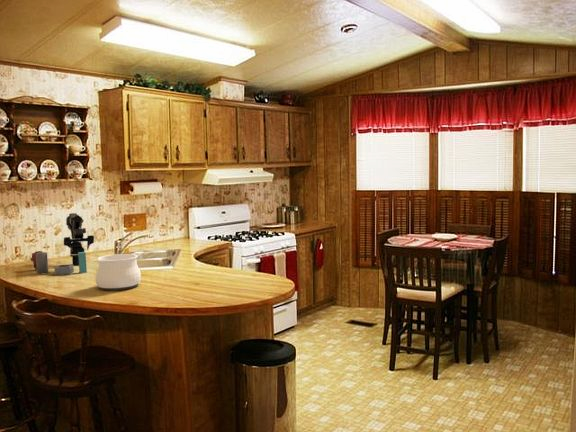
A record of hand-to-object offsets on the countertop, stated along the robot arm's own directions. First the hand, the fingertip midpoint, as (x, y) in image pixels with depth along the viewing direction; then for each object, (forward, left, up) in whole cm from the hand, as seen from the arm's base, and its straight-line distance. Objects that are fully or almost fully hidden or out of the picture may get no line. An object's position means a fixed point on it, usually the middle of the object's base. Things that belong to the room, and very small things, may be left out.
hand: (80, 250), depth 346 cm
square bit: (+6, +5, -13) cm, 15 cm away
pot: (+41, +51, -14) cm, 67 cm away
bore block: (+11, -5, -13) cm, 18 cm away
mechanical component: (+1, -31, -14) cm, 34 cm away
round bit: (+11, -21, -13) cm, 27 cm away
